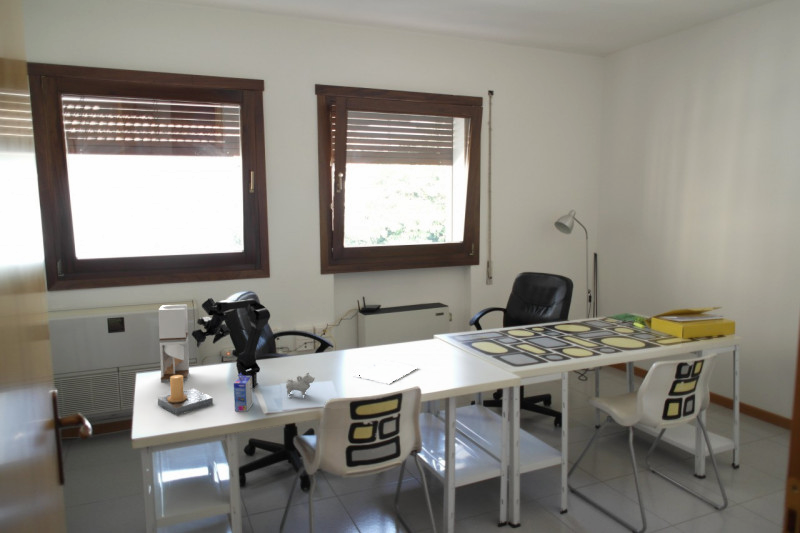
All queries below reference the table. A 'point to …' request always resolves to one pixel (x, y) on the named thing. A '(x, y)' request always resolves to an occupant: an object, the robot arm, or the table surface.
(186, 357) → the white dispenser
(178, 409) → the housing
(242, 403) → the ink cartridge box
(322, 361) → the table surface
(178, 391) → the orange flanged peg
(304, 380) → the grey dog figurine
